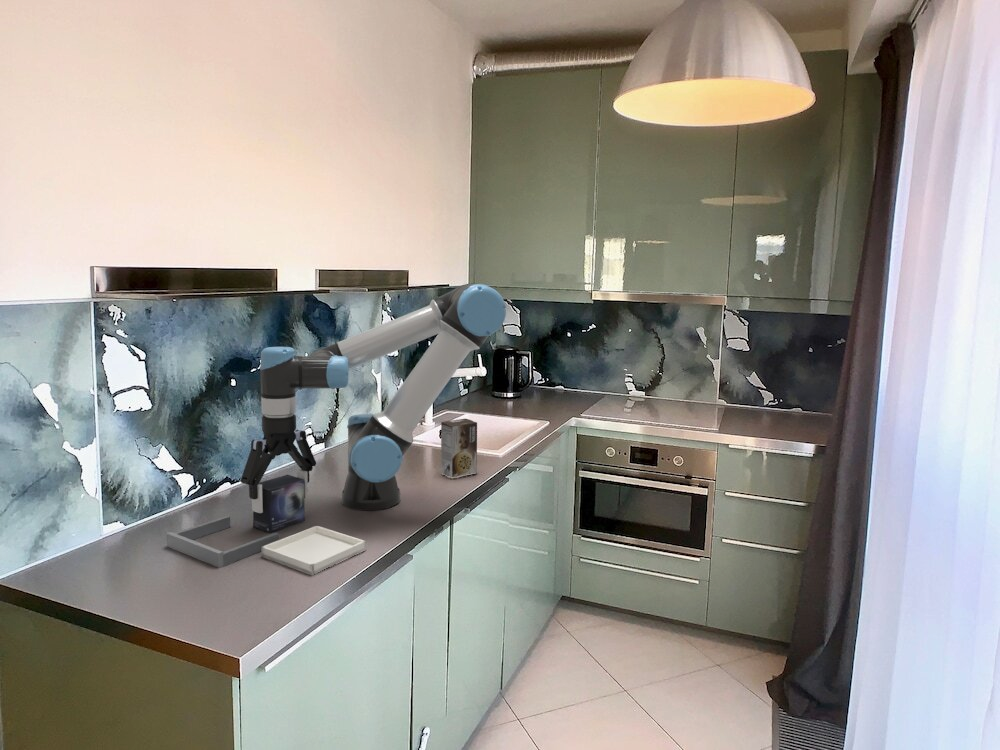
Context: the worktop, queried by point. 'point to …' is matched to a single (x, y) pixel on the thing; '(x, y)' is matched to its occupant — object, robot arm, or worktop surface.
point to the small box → (281, 503)
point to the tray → (313, 549)
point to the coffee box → (458, 447)
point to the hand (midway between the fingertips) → (280, 504)
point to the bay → (186, 545)
